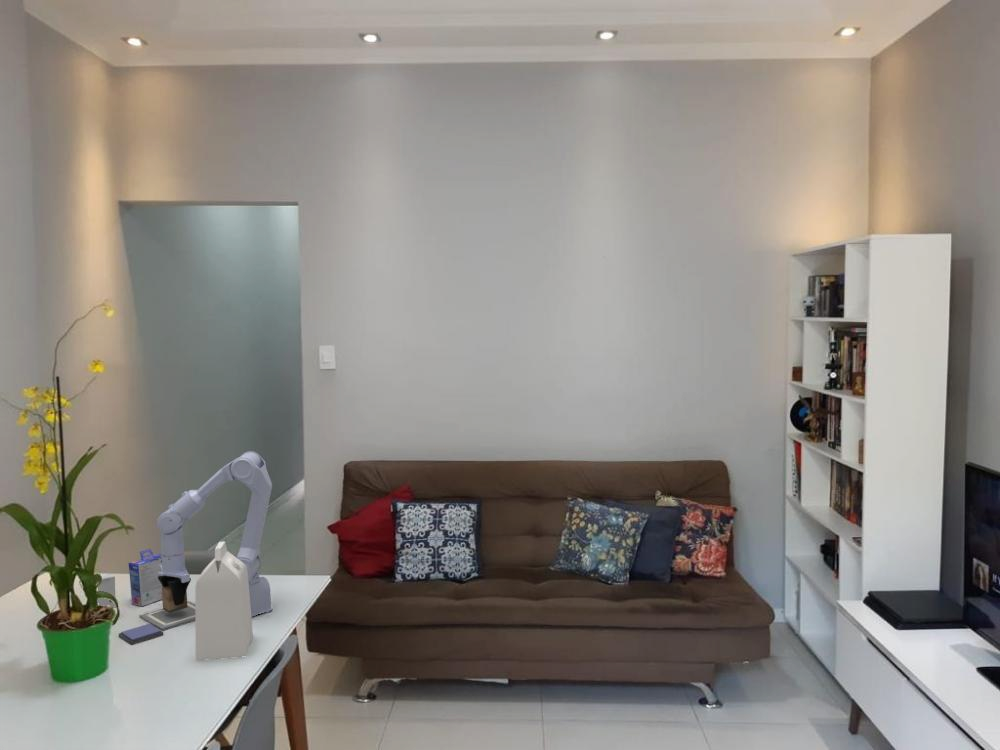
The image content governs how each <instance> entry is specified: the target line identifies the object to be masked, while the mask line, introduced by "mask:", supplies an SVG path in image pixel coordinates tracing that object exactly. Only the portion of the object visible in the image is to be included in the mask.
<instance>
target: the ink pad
mask: <svg viewBox="0 0 1000 750" xmlns="http://www.w3.org/2000/svg"><path fill="white" fill-rule="evenodd" d="M162 636H164V631H161V630H160V629H158V628H156V627H155V626H153V625H151V624H150V623H147V624H143V625H139V626H136V627H133V628H131V629H130V628H129V629H127V630H124V631H123V630H122V631H121V632H119V633H118V638H120V639H122V640H123V641H124V642H126V643H128V644H129V645H131V646H133V645H136V644H139V643H142V642H146V641H150V640H152V639H155V638H159V637H162Z"/></svg>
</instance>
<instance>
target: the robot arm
mask: <svg viewBox="0 0 1000 750" xmlns="http://www.w3.org/2000/svg"><path fill="white" fill-rule="evenodd" d="M235 480H238V481H239V482H241V483H243V484H244V485H246V487H247V488H248V489H249V490H250V492H251V495H250V500H249V505H248V509H247V515H246V518H245V523H244V529H243V533H242V540H241V541H240V542H241V543H240V548H239V550H238V553H237V555H236V558H237V559H239V560H240V561H241V562H243V563H244V564H245V565H246V567H247V570H248V582H249V594H250V606H251V618H252V617H253V616H254V617H257V616H259V615H258V614H260V615H262V614H261V613H263V614H265V613H264V612H266V613H268V612H267V611H269V612H271V611H270V610H272V609H273V608H272V601H271V600H272V599H271V595H272V594H271V585H270V582H269V580H268V578H266V577H265V576H260V575H259V573H258V572H259V570H260V569H261V566H262V563H261V558H260V553H261V549H260V545H261V542H262V541H261V540H262V536H263V533H264V532H263V531H264V526H265V523H266V522H265V521H266V518H267V511H268V508H269V502H270V499H271V494H272V489H273V483H272V480H271V478H270V476H269V473H268V470H267V466H266V461H265V459H263V458H262V456H260V454H259V453H257V452H256V451H252V450H251V451H246V452H244V453H242V454H241V455H240V456H238V457H237V458H234V460H232V461H230V462H229V463H227V464H226V465H224V466H222V468H220V469H219V470H217V472H215V473H214V474H213V475H212V476H211V477H210V478H209V479H208V480H207V481H206V482H204V484H203V485H202V486H200V487H199V488H198V489H190V490H188V491H187V490H185V491H184V492H182V493H181V495H180V496H181V497H180V498H179V499H177V501H176V502H174V503H171V504H169V506H167V507H168V509H167V510H165V511H164V512H162V513H161V514H160V515H159V517H157V520H156V527H157V529H158V530H159V532H160V549H161V551H160V554H161V555H162V564H160V565H159V572H158V575H160V576H158V580H159V581H160V583H161V584H162V586H163V587H166V586H170V588H171V590H172V594H173V599H174V603H175V605H176V606H177V605H180V604H183V603H184V599H185V594H186V590H187V589H188V586H189V585H190V583H191V582H192V581H191V580H192V579H191V577H190V574H189V572H188V571H187V567H186V564H185V563H186V562H185V561H186V559H185V544H184V527H183V526H184V524H185V523H186V522H187V521H189V520H190V519H191V518H192V517H194V515H196V514H197V513H198V512H199V511H200V510H202V509H203V508H204V507H205V506H206V499H207V497H209V496H210V495H211V494H213V493H214V492H215V491H216V490H217V489H219V488H220V487H221V486H222V485H223V484H225V483H226V482H234V481H235ZM187 591H188V590H187ZM272 611H273V610H272ZM256 615H257V616H256Z"/></svg>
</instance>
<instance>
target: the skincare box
mask: <svg viewBox="0 0 1000 750" xmlns="http://www.w3.org/2000/svg"><path fill="white" fill-rule="evenodd" d="M99 574H100V573H99ZM100 575H101V576H102V582H101V584H100V585H99V586H98V591H105V592H108V593H110V594H112V595H113V596H114V597H115V598H116V576H115V574H114V573H113V572H107V573H102V574H100ZM98 603H99V605H104V606H107V605H110V606H113V607H114V606H115V604H114V603H113V602H112V601H111V600H108V599H104V598H99V599H98Z"/></svg>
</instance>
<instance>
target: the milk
mask: <svg viewBox="0 0 1000 750" xmlns="http://www.w3.org/2000/svg"><path fill="white" fill-rule="evenodd" d="M196 579H197V580H196V582H195V588H194V589H195V592H194V593H195V600H194V601H195V603H194V604H195V621H194V622H195V661H196V660H204V661H206V660H205V659H215V660H222V659H221V658H227V659H232V658H231V657H238V658H243V657H242V656H246V657H247V655H248V652H249V650H248V649H250V647H249V646H251V644H252V641H253V638H254V633H253V632H254V631H253V618H252V617H251V606H250V594H249V582H248V570H247V567H246V565H245V564H244V563H243V562H241V561H240V560H239V559H237V556H234V554H232V553H231V552H230V551H228V549H227V543H226V541H224V540H223V541H218V543H217V545H216V546H215V548H214V558H213V559H212V560H211V561H210V562H209V563H208V565H206V566H205V568H204V569H203V570H202V571H201V573H200V575H199V576H198V578H196ZM250 643H251V644H250Z"/></svg>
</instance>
